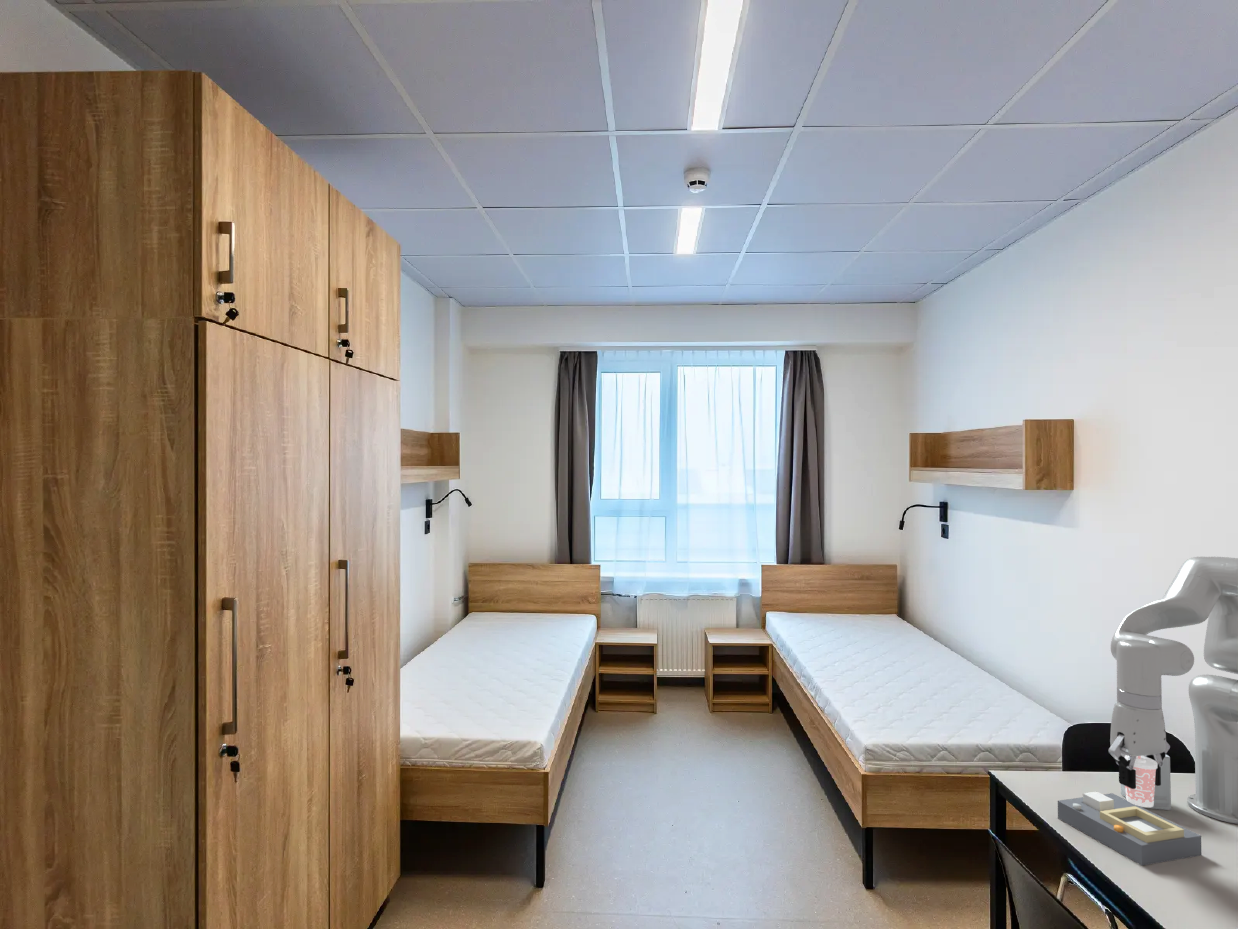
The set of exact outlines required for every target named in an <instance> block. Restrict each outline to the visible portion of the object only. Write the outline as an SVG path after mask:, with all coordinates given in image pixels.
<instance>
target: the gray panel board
mask: <svg viewBox="0 0 1238 929" xmlns="http://www.w3.org/2000/svg"><path fill="white" fill-rule="evenodd" d="M1102 794H1103V793H1102ZM1103 795H1105V796H1107V797H1109V798H1111V799H1113V800H1114V809H1112V810H1105V811H1100V812H1099V811H1097V810H1095V809H1093V808H1092V807H1090V806H1088V805H1086V804H1084V803H1083V796H1081V797H1076V798H1075V797H1074V798H1068V799H1061V800H1060V799H1059V800H1057V819H1058V820H1060V821H1062V822H1064V823H1065V824H1068V825H1069V826H1071V827H1073V828H1075V829H1077V830H1078V831H1080V832H1081V833H1083V834H1086V835H1087V836H1088V837H1090V838H1092V839H1094V840H1096V841H1098V842H1100V843H1101V844H1103V845H1105V846H1107V847H1108V848H1110V849H1112V850H1114V851H1115V852H1116V853H1119V854H1120V855H1122V856H1124V857H1126V858H1128V859H1130V861H1132V862H1133V861H1134V862H1135V863H1137V864H1138V865H1140V866H1146V865H1152V864H1158V863H1165V862H1171V861H1177V860H1181V859H1187V858H1192V857H1199V856H1202V854H1203V853H1202V852H1203V851H1202V835H1201V834H1199V833H1196V832H1195V831H1192V830H1190V829H1188V828H1185V827H1184V826H1182V825H1179V824H1177V823H1175V822H1173V821H1171V820H1169V819H1167V818H1165V817H1162V816H1161V815H1158V814H1157V813H1154V812H1153V811H1150V810H1148V809H1147V808H1142V807H1140V806H1138V805H1135V804H1132V803H1130V802H1128V801H1127V800H1126V798H1123V797H1121V796H1119V795H1117V794H1115V793H1112V792H1111V793H1106V794H1105V793H1104V794H1103ZM1132 821H1140V822H1142V823H1144V824H1146V825H1148V826H1150V827H1152V828H1154V829H1156V830H1157V831H1150V832H1144V831H1142V830H1140V829H1138V828H1136V827H1134V826H1132V825H1130V824H1128V823H1126V822H1132Z"/></svg>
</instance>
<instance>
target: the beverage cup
mask: <svg viewBox="0 0 1238 929" xmlns="http://www.w3.org/2000/svg"><path fill="white" fill-rule="evenodd" d="M1125 759H1126V760H1127V761H1128V759H1129V756H1128V755H1125ZM1157 765H1158V763H1157V762H1156V761H1155V760H1153V759H1151V758H1148V757H1145V756H1136V760H1135V763H1134V767H1133V769H1134V770H1136V788H1135V789H1131V788H1129V787H1127V786H1125V790H1126V797H1125V800H1127V801H1128V802H1130V803H1132V804H1135V805H1138V806H1141V807H1153V806H1154V791H1155V775H1156V769H1157Z"/></svg>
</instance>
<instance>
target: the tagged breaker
mask: <svg viewBox="0 0 1238 929" xmlns="http://www.w3.org/2000/svg"><path fill="white" fill-rule="evenodd" d="M1126 823H1128V824H1130V825H1132V826H1134V827H1136V828H1138V829H1140V830H1142V831H1144V832H1150V831H1157V830H1156V829H1154V828H1152V827H1150V826H1148V825H1146V824H1144V823H1142V822H1140V821H1132V822H1126Z"/></svg>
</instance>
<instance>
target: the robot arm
mask: <svg viewBox="0 0 1238 929" xmlns="http://www.w3.org/2000/svg"><path fill="white" fill-rule="evenodd" d="M1206 620H1207V626H1206V631H1205V638H1204V644H1203V645H1204V646H1203V657H1204V662H1205V663H1206V664H1207V665H1208V666H1209V667H1211V668H1213V669H1215V670H1218V671H1222V672H1225V673H1230V674H1235V675H1238V557H1228V556H1227V557H1226V556H1193V557H1190V558H1188V559H1186V560H1185V561H1184V562H1183V563H1182V564H1181V566H1180V568H1179V570H1178V571H1177V573H1176V574H1175V576H1174V578H1173V580H1172V581H1171V583H1170V585H1169V586H1168V588H1167V589H1166V591H1165V593H1164V594H1163V596H1162V598H1159V599H1158V600H1154V601H1152V602H1150V603H1147V604H1145V605H1142V606H1140V607H1139V608H1136V609H1134V610H1132V611H1131V612H1129V613H1128V614H1127V615H1126V616H1124V618H1123V619H1122V620H1121V622H1120V624H1119V625H1118V626H1117V628H1116V630H1115V632H1114V634H1113V636H1112V639H1111V641H1110V652H1111V653H1110V654H1111V655H1112V657H1113V658H1114V659H1115V660H1116V703H1115V704H1114V706H1113V710H1112V715H1111V722H1110V733H1109V734H1110V739H1109V742H1110V747H1109V748H1108V754H1110V755H1111V756H1112V757H1113V760H1115V763H1116V765H1118V782H1119V783H1120V785H1121V784H1123V785H1125V786H1127V787H1129V788H1131V789H1135V788H1136V770H1134V769H1133V767H1134V763H1135V760H1136V756H1145V757H1148V758H1151V759H1153V760H1155V761H1156V762H1157V763H1158V765H1157V769H1156V775H1155V785H1157V786H1160V785H1161V766H1162V765H1163V759H1164V758H1165V756H1166V755H1167V753H1168V751H1169V750H1170V748H1171V745H1170V744H1169V743H1168V742H1167V733H1166V725H1165V717H1164V711H1163V708H1162V704H1163V703H1162V702H1163V701H1162V700H1163V699H1162V697H1163V696H1162V688H1163V687H1162V676H1170V677H1171V676H1172V677H1174V676H1175V677H1176V676H1177V677H1178V676H1179V677H1180V676H1182V675H1185V674H1188V673H1189V672H1190V671H1191V670H1192V668H1193V667H1194V665H1195V656H1194V653H1193V651H1192V649H1191V648H1190V647H1189V646H1188V645H1186V644H1184V643H1182V642H1180V641H1178V640H1173V639H1169V638H1162V637H1158V636H1154V635H1149V634H1151V633H1153V632H1156V631H1161V630H1164V629H1165V630H1166V629H1172V628H1173V629H1174V628H1175V629H1176V628H1182V627H1188V626H1194V625H1195V626H1196V625H1199V624H1203V622H1205V621H1206ZM1188 698H1189V701H1190V705H1191V710H1192V715H1193V724H1194V725H1193V726H1194V762H1195V764H1194V768H1195V770H1194V771H1195V772H1194V773H1195V774H1194V775H1195V776H1194V777H1195V780H1194V781H1195V794H1190V795H1188V796H1187V801H1186V802H1187V805H1188V806H1189V807H1190V808H1192V809H1193V810H1194V811H1197V812H1198V813H1200V814H1202V815H1205V816H1207V817H1209V818H1212V819H1215V820H1219V821H1222V822H1226V823H1231V824H1234V825H1235V824H1236V825H1238V679H1235V678H1231V677H1226V676H1221V675H1216V674H1215V675H1213V674H1199V675H1196V676H1194V677H1193V678H1192V679H1191V680H1190V682H1189V684H1188ZM1126 749H1128V752H1126ZM1125 755H1128V756H1129V759H1128V761H1127V760H1126V759H1125ZM1159 766H1160V767H1159Z"/></svg>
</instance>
